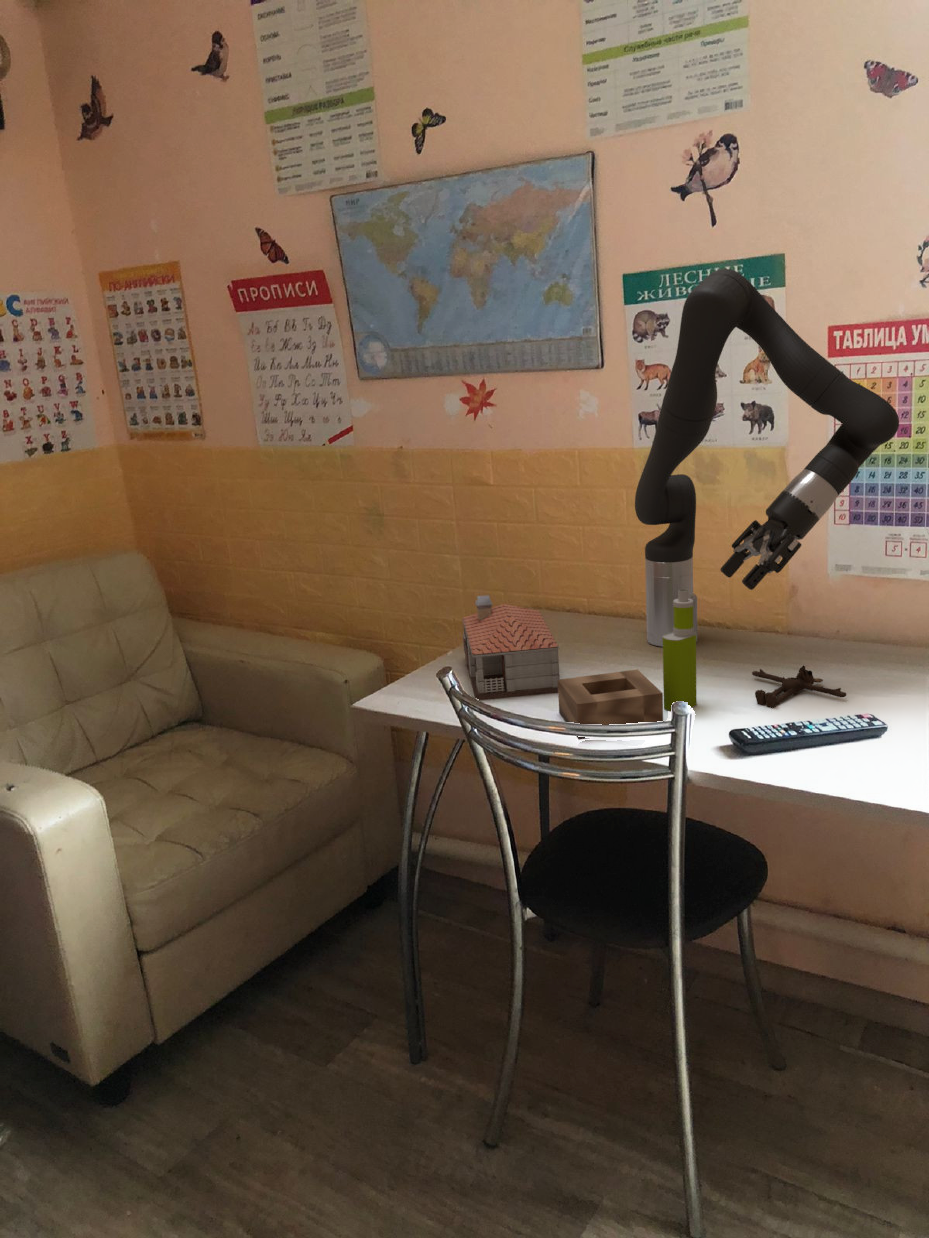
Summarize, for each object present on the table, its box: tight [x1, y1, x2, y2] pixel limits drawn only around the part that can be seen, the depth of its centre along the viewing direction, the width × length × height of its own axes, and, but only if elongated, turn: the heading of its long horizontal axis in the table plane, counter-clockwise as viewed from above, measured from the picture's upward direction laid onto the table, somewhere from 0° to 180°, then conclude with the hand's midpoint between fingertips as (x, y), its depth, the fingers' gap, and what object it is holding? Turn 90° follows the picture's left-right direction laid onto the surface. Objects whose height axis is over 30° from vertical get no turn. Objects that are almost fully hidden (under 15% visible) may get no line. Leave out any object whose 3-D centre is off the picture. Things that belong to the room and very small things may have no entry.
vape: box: [662, 589, 698, 713], centre depth 171 cm, size 4×6×20 cm, turn 128°
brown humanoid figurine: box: [751, 665, 848, 709], centre depth 175 cm, size 18×4×14 cm
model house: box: [462, 594, 561, 701], centre depth 193 cm, size 24×16×15 cm, turn 4°
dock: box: [557, 669, 664, 741], centre depth 169 cm, size 14×12×6 cm
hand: (735, 580), depth 169 cm, fingers open, 8 cm apart
